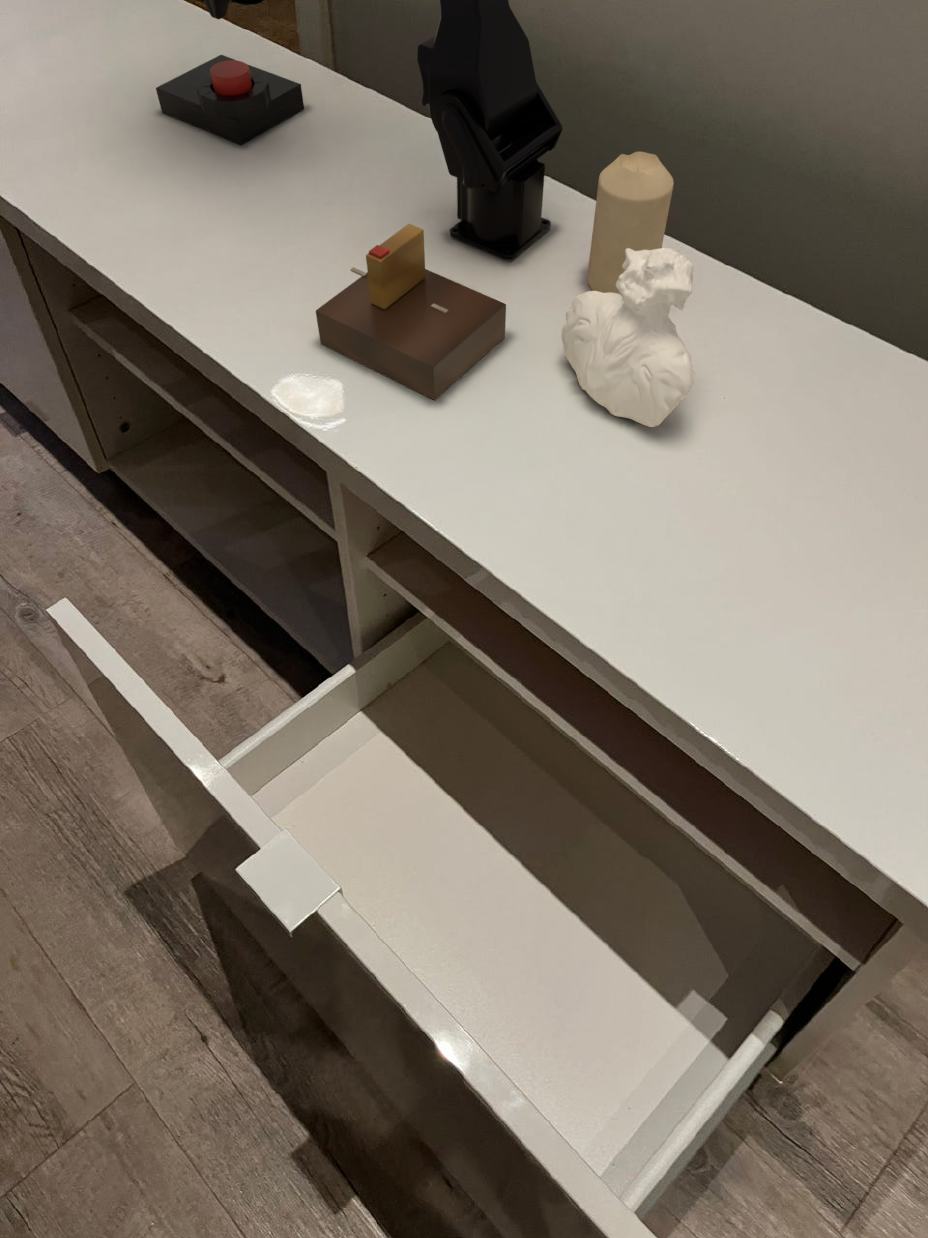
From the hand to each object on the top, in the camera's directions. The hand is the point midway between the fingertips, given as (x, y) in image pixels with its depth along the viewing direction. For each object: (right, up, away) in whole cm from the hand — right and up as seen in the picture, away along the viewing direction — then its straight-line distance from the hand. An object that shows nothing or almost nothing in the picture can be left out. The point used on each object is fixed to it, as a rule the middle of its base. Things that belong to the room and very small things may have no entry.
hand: (218, 16), depth 82 cm
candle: (+35, -26, -7) cm, 44 cm away
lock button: (0, -4, +5) cm, 6 cm away
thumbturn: (+17, -29, -13) cm, 36 cm away
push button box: (-1, -3, +10) cm, 10 cm away
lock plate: (+18, -32, -12) cm, 39 cm away
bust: (+34, -37, -15) cm, 52 cm away
